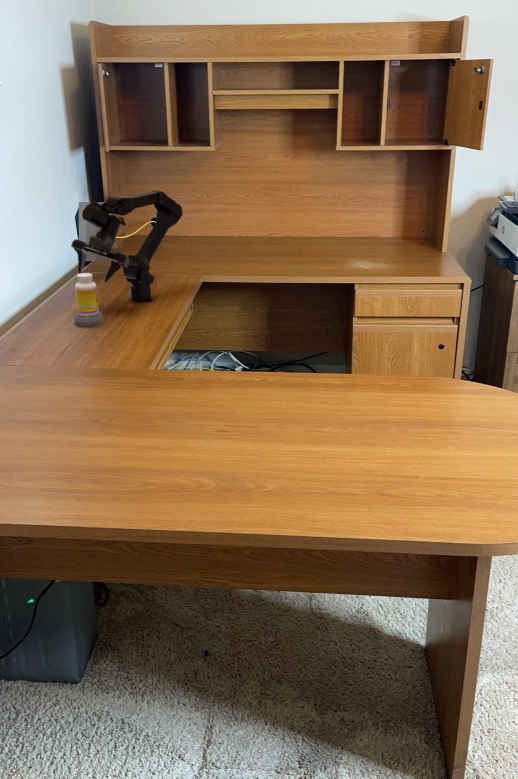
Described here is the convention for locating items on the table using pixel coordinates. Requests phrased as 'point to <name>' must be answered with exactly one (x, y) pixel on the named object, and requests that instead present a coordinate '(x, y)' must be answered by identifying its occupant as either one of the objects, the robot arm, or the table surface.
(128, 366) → the table surface
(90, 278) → the supplement bottle
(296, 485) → the table surface
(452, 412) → the table surface
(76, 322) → the puck
